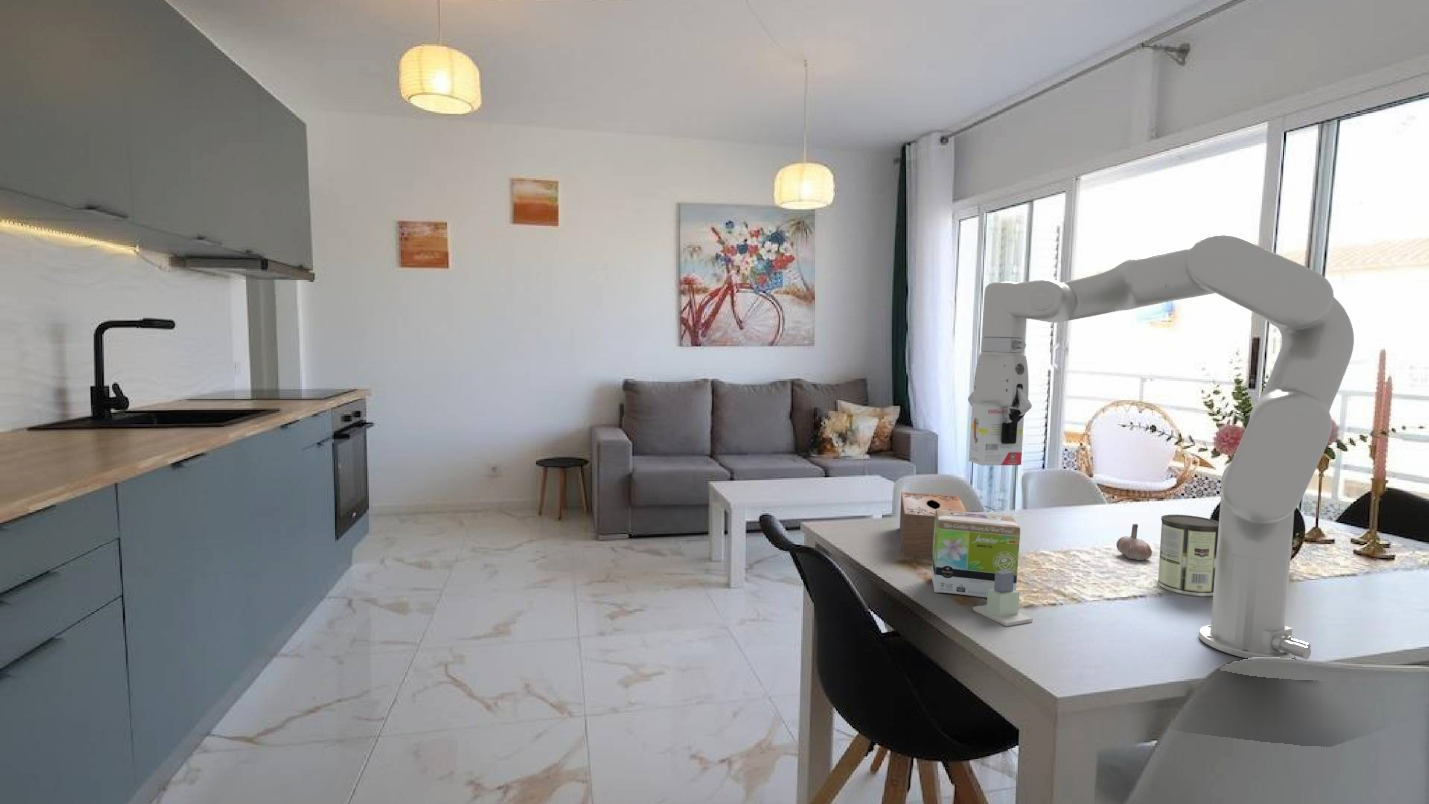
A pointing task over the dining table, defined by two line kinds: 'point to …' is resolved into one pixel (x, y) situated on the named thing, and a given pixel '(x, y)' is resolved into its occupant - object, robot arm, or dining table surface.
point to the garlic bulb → (1134, 546)
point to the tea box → (972, 551)
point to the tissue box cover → (922, 520)
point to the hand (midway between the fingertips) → (995, 440)
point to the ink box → (992, 437)
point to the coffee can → (1188, 554)
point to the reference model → (1003, 601)
